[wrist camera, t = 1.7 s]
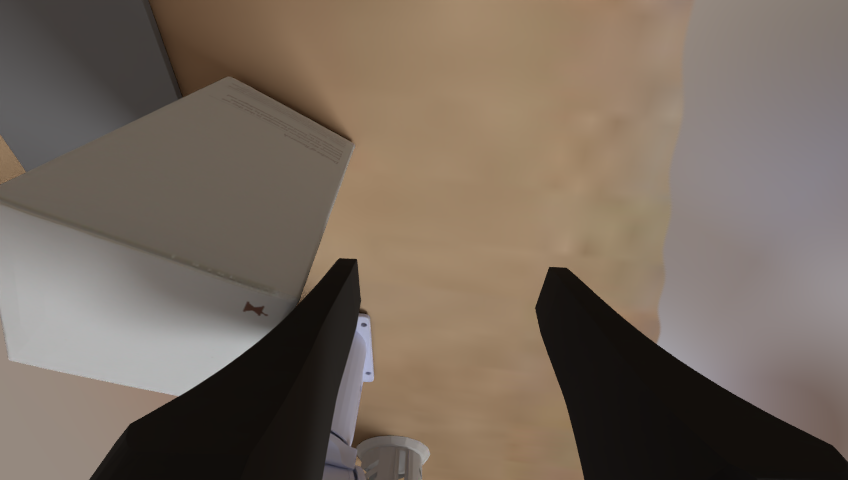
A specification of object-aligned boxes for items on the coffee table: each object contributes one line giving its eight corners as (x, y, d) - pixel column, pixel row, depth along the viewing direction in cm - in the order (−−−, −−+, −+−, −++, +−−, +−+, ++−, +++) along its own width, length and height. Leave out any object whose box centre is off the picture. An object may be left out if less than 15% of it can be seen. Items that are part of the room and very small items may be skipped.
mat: (243, 270, 25) (241, 274, 25) (97, 265, 25) (93, 268, 25) (136, -33, 15) (129, -34, 15) (-114, -47, 15) (-127, -49, 14)
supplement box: (227, 69, 17) (-43, 182, 7) (359, 143, 19) (307, 304, 9) (198, 181, 20) (-6, 364, 10) (312, 231, 23) (239, 416, 13)
